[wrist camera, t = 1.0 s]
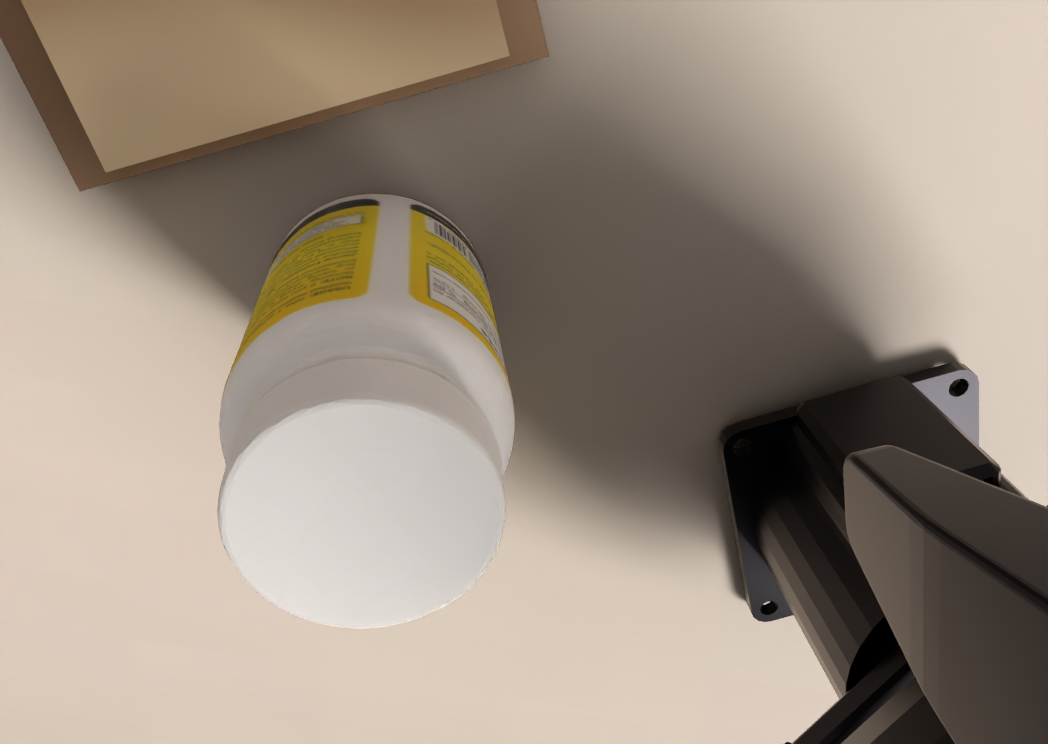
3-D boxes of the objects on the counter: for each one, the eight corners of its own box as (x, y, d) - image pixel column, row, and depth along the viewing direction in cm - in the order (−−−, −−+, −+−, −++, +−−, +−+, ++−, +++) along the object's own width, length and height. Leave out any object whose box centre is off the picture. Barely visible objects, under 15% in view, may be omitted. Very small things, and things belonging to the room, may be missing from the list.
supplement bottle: (258, 368, 20) (168, 633, 13) (283, 167, 18) (194, 342, 11) (465, 401, 21) (492, 664, 14) (510, 213, 19) (570, 402, 12)
